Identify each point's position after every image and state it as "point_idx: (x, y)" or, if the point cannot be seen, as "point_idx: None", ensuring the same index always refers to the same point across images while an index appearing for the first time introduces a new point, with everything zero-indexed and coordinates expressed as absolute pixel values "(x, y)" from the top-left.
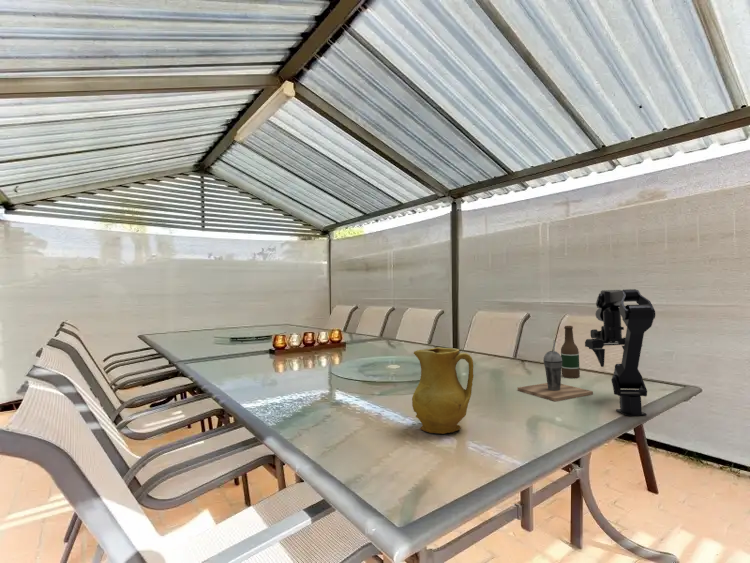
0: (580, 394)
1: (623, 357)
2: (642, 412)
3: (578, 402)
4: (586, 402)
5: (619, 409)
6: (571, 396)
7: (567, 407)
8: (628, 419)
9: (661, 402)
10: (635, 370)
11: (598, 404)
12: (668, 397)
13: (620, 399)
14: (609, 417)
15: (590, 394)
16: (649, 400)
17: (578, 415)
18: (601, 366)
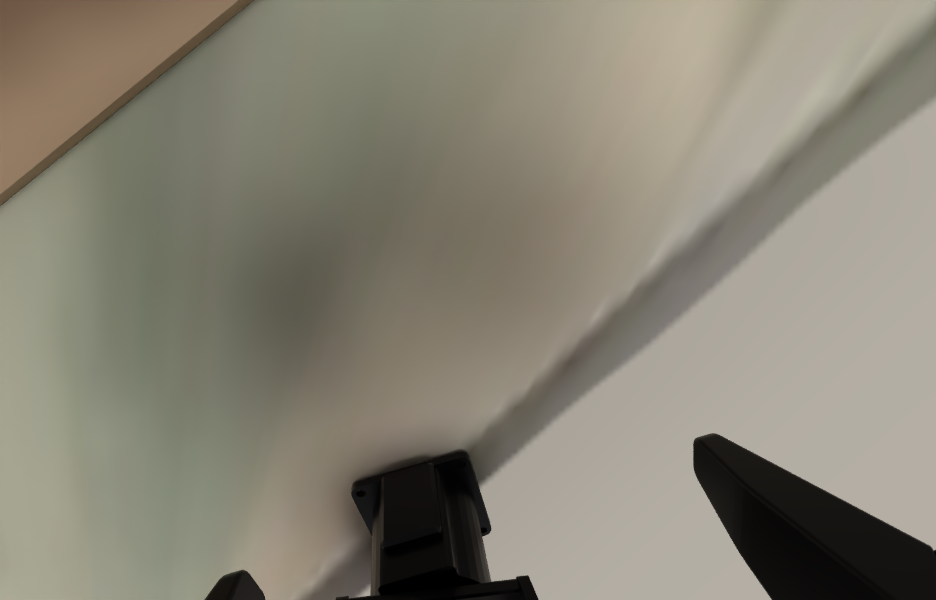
0: (108, 111)
1: None
2: (479, 518)
3: (103, 319)
4: (175, 312)
5: (371, 491)
6: (9, 190)
7: (19, 457)
8: None
9: (737, 258)
10: None
11: (268, 357)
12: (897, 98)
13: (380, 547)
14: (285, 579)
15: (239, 11)
16: (694, 208)
17: (109, 583)
18: (231, 585)
